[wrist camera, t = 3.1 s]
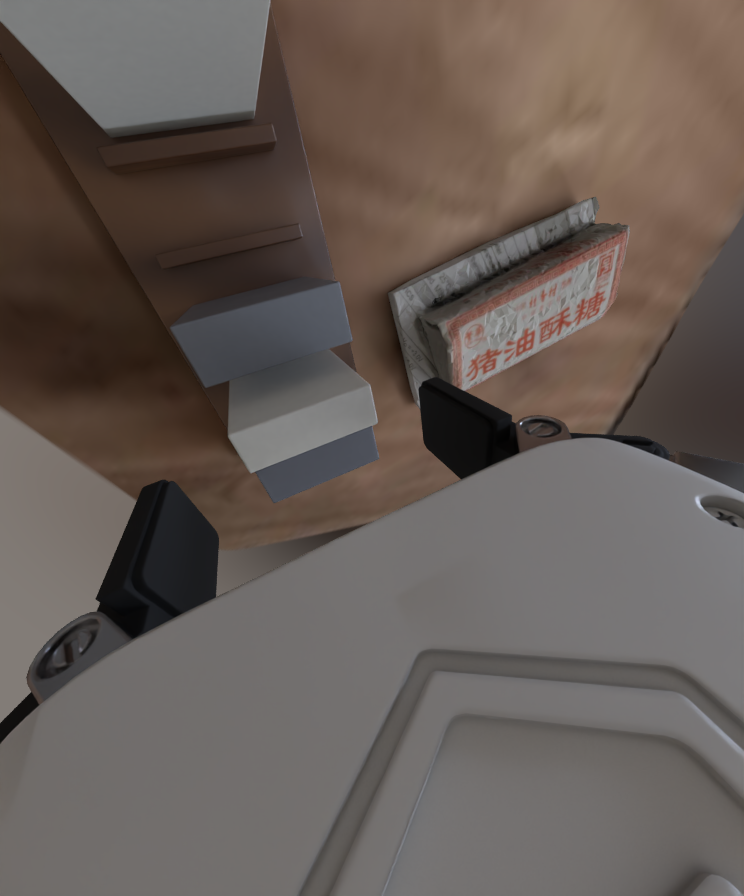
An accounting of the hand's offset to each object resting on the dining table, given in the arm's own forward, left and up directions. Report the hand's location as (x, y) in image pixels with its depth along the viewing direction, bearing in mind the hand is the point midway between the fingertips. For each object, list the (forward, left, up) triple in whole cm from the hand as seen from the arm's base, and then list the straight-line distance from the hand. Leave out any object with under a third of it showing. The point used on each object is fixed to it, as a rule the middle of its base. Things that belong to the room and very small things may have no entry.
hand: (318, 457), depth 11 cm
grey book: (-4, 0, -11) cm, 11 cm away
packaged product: (+1, +18, -12) cm, 22 cm away
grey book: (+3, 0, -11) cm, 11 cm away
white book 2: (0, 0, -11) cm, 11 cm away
